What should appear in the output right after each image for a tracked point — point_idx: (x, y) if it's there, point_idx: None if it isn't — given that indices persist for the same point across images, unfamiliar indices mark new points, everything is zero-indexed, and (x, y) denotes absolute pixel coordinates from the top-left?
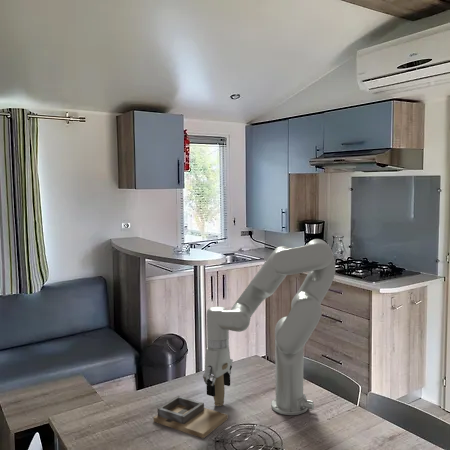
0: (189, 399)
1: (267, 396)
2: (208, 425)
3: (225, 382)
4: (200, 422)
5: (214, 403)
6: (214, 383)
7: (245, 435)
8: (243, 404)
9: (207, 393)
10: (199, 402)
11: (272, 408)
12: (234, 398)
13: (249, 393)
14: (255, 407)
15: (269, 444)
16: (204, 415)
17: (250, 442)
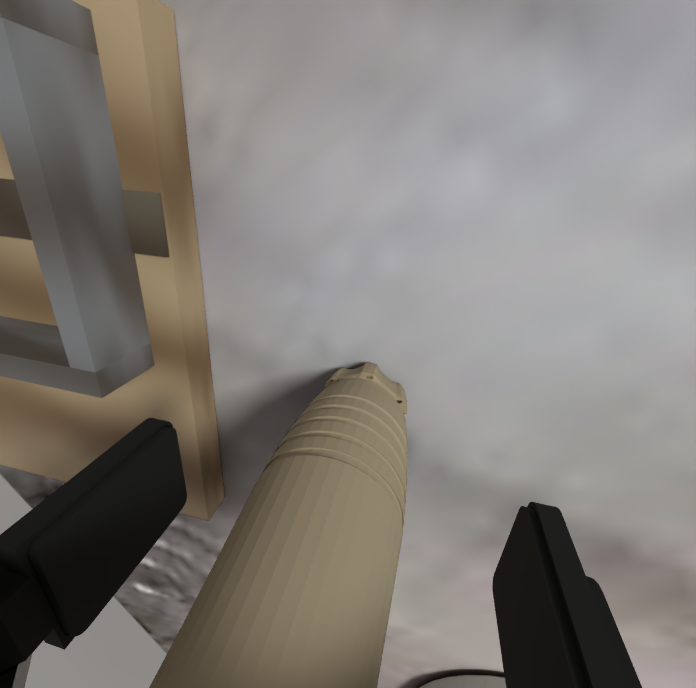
0: (45, 216)
1: (648, 658)
2: (50, 458)
3: (512, 587)
4: (33, 408)
5: (333, 374)
6: (211, 570)
7: (158, 583)
8: (451, 542)
9: (142, 433)
10: (80, 356)
11: (445, 680)
12: (538, 470)
13: (690, 556)
14: (436, 604)
15: (167, 649)
16: (105, 398)
17: (133, 601)
